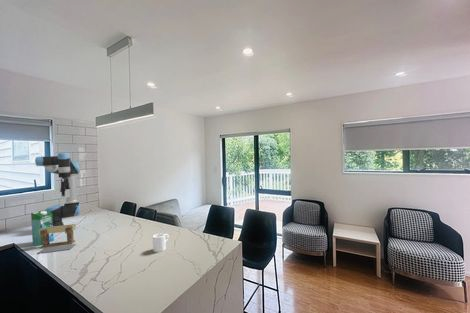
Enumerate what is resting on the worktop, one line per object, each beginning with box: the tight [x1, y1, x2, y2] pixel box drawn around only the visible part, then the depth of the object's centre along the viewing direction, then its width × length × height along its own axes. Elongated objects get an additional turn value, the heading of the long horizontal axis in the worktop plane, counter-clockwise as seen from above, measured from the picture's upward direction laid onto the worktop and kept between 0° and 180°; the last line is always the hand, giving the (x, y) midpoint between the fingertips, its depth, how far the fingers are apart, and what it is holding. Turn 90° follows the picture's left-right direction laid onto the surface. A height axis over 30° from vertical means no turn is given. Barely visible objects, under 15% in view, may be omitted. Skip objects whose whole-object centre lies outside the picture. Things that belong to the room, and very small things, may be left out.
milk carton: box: [30, 209, 55, 246], centre depth 170 cm, size 9×9×25 cm
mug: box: [152, 232, 170, 253], centre depth 148 cm, size 8×12×10 cm
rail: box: [39, 223, 76, 235], centre depth 164 cm, size 22×4×4 cm, turn 105°
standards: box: [40, 227, 76, 249], centre depth 164 cm, size 7×20×13 cm, turn 105°
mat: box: [36, 243, 77, 255], centre depth 155 cm, size 9×20×1 cm, turn 105°
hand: (65, 198), depth 171 cm, fingers open, 13 cm apart
